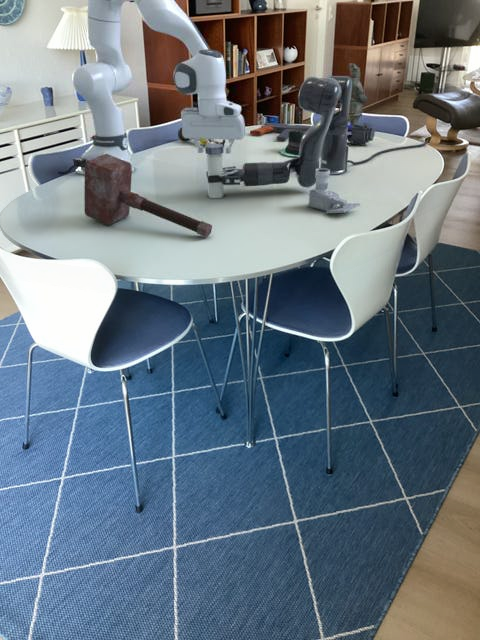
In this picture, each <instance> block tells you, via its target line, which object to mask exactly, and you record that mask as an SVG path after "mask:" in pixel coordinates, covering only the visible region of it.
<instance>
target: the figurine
mask: <svg viewBox="0 0 480 640" xmlns="http://www.w3.org/2000/svg"><path fill="white" fill-rule="evenodd" d="M177 137H178V139H179V141H182V142H191V141H192V140H193V141H194V139H193V138H184V137H183V135H182V127H180V128H179V129H178V132H177ZM198 142H199V143H201V144H203V145H204V146H205V145H207V144H212V143H213V144H222V145H223V147H225V144H226V139H222V141H218V140H217V139H199V141H198Z"/></svg>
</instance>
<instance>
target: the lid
mask: <svg viewBox="0 0 480 640" xmlns="http://www.w3.org/2000/svg"><path fill="white" fill-rule="evenodd" d="M204 146H205V147H204V152H205V154H206V155H219V154H222V155H223V154H224V151H225V150H224V146H223V145H222V144H216V143H211V144H207V145H204Z"/></svg>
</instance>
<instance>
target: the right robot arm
mask: <svg viewBox="0 0 480 640" xmlns="http://www.w3.org/2000/svg"><path fill="white" fill-rule="evenodd" d="M351 90H352V81H351V77H350V76H347V75H328V76H327V75H326V76H325V77H316V76H308V77H307V78H306V79H304V81H303V82H302V84H301V85H300V88H299V91H298V94H297V95H298V96H297V101H298V105H299V108H301V109H302V110H303V111H305V112H308V113H313V114H316V115H320V116H321V117H320V119H318V121H317V122H316V123H314V124H313V125H311V126H312V127H311V128H309V129H308V130H307V131H306V132H305V134H304V135H303V137H302V139H301V143H300V150H299V157H297V156H296V157H294V158H291V159H288V160H284V161H277V162H268V161H267V162H265V161H263V162H262V161H261V162H245V163H243V165H242V169H241V168H237V166H235V165H233V166H226V167H223V175H213V176H208V170H206V178H207V184H208V183H218V182H220V183H222V185H223V186H240V185H241V182H243V185H244V187H260V186H263V187H264V186H270V185H280V184H281V185H283V184H287V183H288V182H289V181H290V178H291V174H294V173H295V175H296V176H295V177H296V180H297V183H298V184H299V186H301V187H302V188H305V189H306V188H312V187H313V186H315V185H316V178H315V173H316V169H318V168H327V169H329V170H330V175H342V174H344V173H345V172H347V170H348V164H349V163H350V164H351V165H360V164H364V163H366V162H369V161H372V159H373V158H374V157H376V156H378V155H381V154H383V153H387V152H391V151H398V150H405V149H413V148H420V147H424V146H426V145H427V144H429V143H430V139H426V140H425V141H424V143H420V144H413V145H406V146H398V147H393V148H392V147H391V148H387V149H383V150H380V151H378V152H376V153H373V154H372V155H370V157H368V158H365V159H363V160H360V161H353V160H350V159H349V145H348V140H347V133H348V119H349V106H350V98H351ZM337 105H340V107H339V108H338V109H337ZM320 155H321V156H320Z"/></svg>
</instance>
